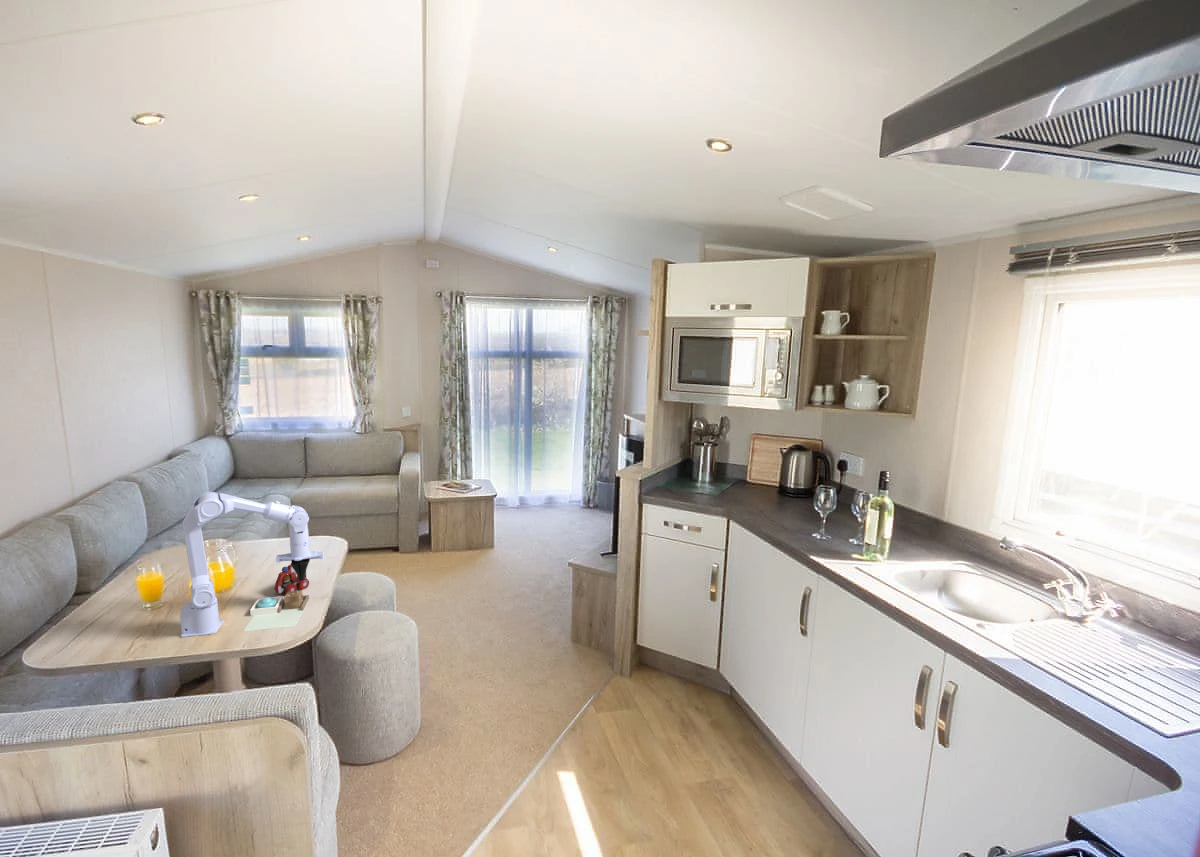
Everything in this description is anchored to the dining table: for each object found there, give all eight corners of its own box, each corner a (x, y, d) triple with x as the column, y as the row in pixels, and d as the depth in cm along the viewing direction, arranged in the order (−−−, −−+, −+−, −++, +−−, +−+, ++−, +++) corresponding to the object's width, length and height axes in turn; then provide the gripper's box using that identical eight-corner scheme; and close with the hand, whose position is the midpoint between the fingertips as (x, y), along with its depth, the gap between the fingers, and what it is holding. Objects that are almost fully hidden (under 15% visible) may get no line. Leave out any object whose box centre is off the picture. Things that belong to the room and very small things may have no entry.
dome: (255, 612, 185) (254, 602, 185) (260, 604, 191) (259, 594, 190) (274, 610, 187) (273, 600, 186) (278, 602, 192) (278, 593, 192)
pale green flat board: (240, 633, 175) (239, 625, 174) (260, 603, 194) (259, 596, 193) (295, 627, 179) (295, 619, 178) (310, 599, 198) (309, 592, 197)
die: (285, 609, 189) (284, 596, 188) (288, 603, 193) (287, 590, 192) (300, 608, 190) (299, 595, 189) (303, 602, 194) (302, 589, 194)
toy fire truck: (269, 595, 200) (267, 568, 198) (300, 582, 211) (298, 556, 210) (283, 599, 197) (281, 572, 196) (313, 585, 209) (311, 559, 207)
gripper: (272, 548, 183) (275, 586, 185) (320, 544, 187) (322, 582, 189) (278, 540, 190) (281, 577, 192) (324, 537, 194) (326, 573, 196)
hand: (302, 579), depth 191 cm, fingers closed
